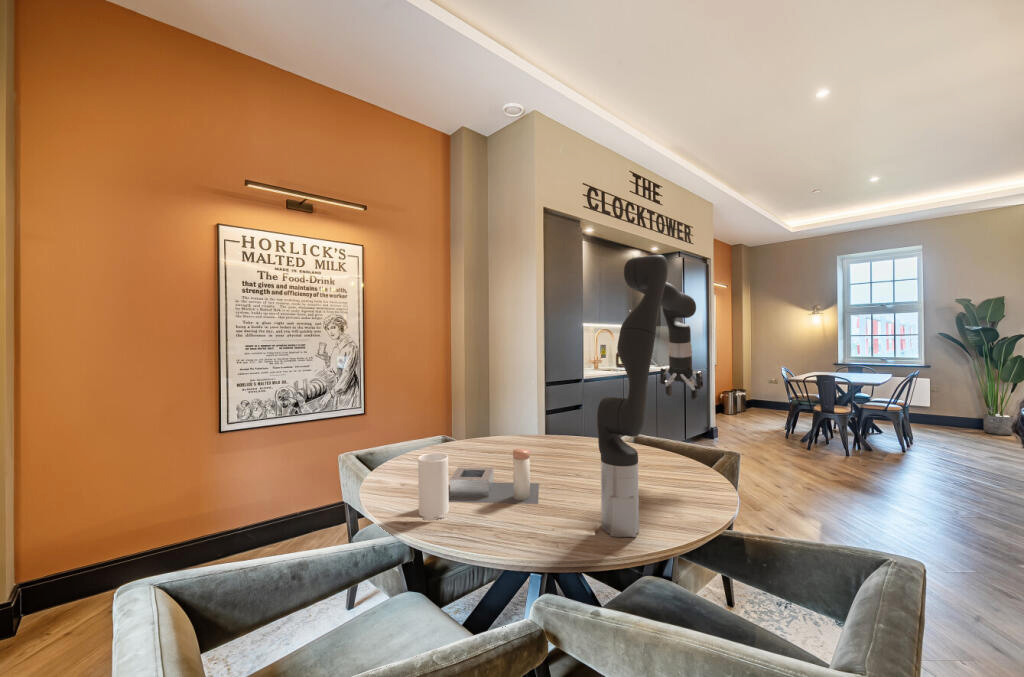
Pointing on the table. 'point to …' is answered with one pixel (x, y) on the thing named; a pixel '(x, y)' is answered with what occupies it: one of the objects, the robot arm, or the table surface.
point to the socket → (472, 482)
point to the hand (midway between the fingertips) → (681, 397)
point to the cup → (433, 485)
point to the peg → (521, 474)
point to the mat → (500, 495)
